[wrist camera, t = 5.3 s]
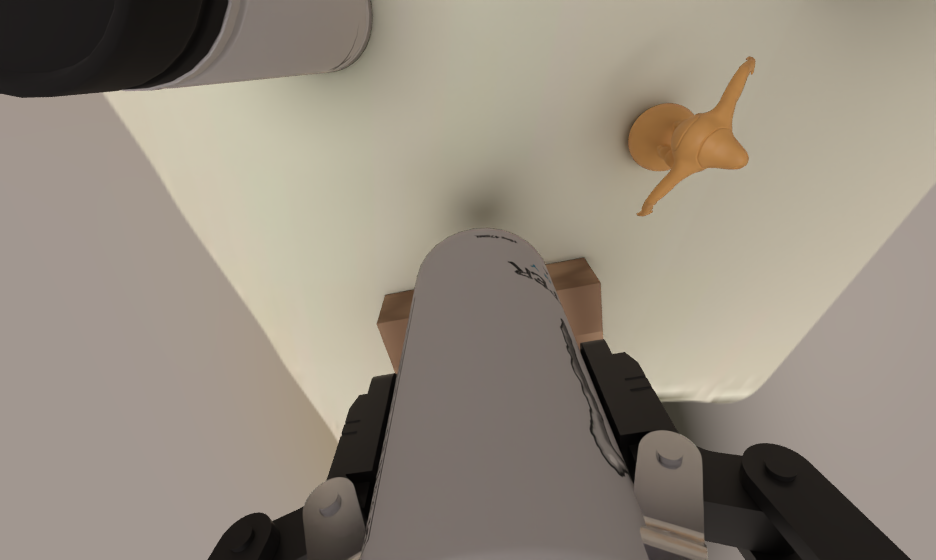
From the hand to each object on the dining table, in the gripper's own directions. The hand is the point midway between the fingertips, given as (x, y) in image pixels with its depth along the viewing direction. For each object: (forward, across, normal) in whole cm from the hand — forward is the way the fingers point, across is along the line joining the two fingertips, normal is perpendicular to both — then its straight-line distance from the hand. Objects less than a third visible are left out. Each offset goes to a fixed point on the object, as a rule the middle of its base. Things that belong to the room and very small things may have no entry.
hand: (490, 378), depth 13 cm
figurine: (+18, -12, -3) cm, 22 cm away
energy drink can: (+7, 0, 0) cm, 7 cm away
